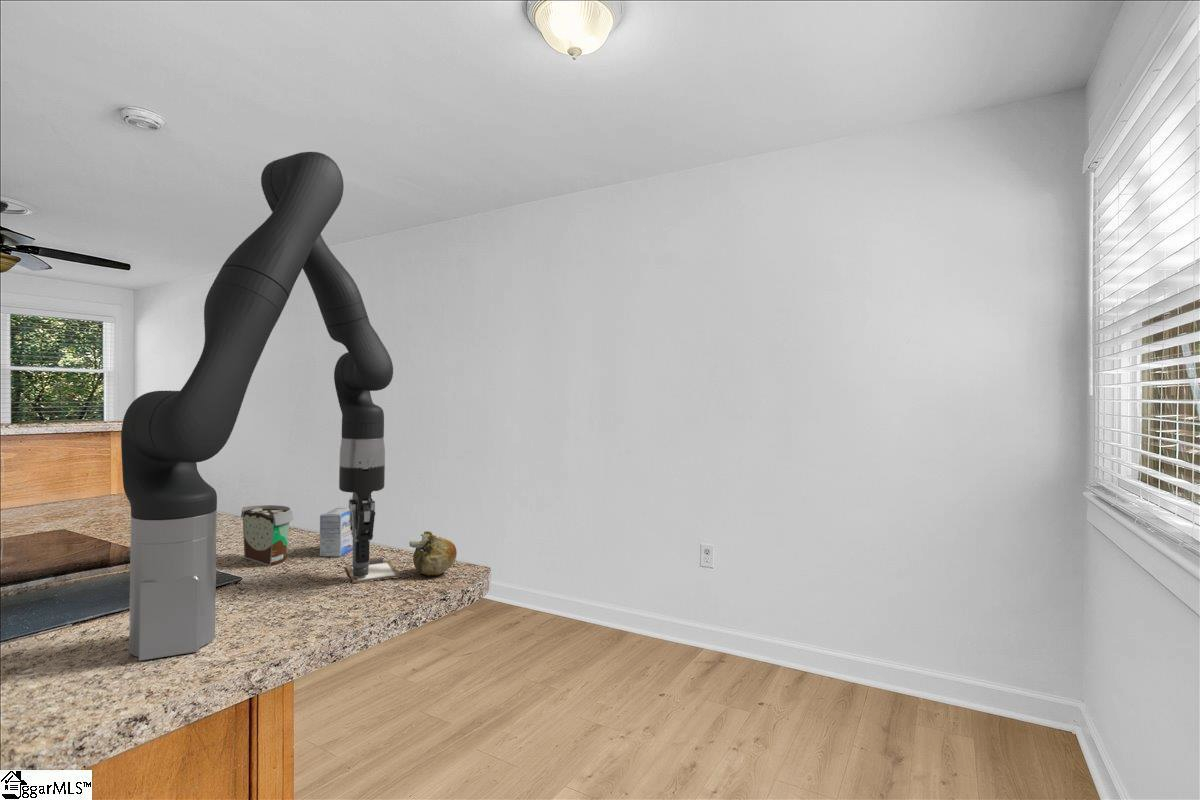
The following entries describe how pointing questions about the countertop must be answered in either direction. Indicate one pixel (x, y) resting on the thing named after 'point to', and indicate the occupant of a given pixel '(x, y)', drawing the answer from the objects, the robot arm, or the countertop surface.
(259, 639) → the countertop surface
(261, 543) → the food container
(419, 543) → the onion
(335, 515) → the medicine box
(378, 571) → the clipboard
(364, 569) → the marker
